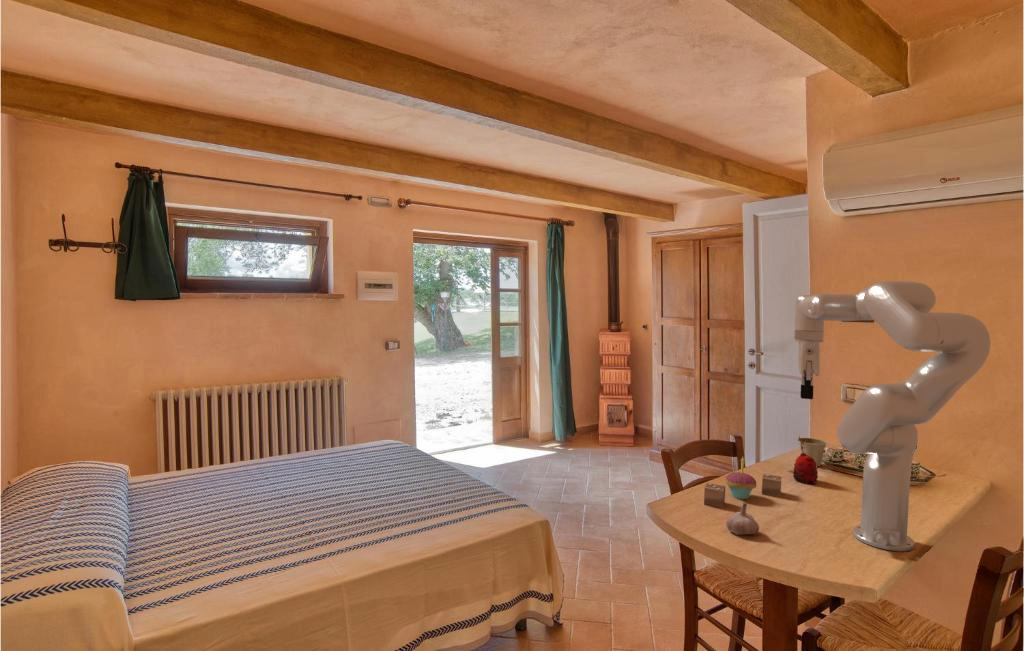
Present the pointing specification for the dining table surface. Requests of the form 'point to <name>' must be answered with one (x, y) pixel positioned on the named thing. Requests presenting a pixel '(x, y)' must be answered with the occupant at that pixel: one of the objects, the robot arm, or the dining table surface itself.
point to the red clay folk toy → (805, 468)
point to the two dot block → (771, 485)
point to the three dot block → (714, 495)
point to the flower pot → (813, 448)
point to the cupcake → (740, 483)
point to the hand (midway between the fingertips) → (806, 398)
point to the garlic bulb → (742, 523)
